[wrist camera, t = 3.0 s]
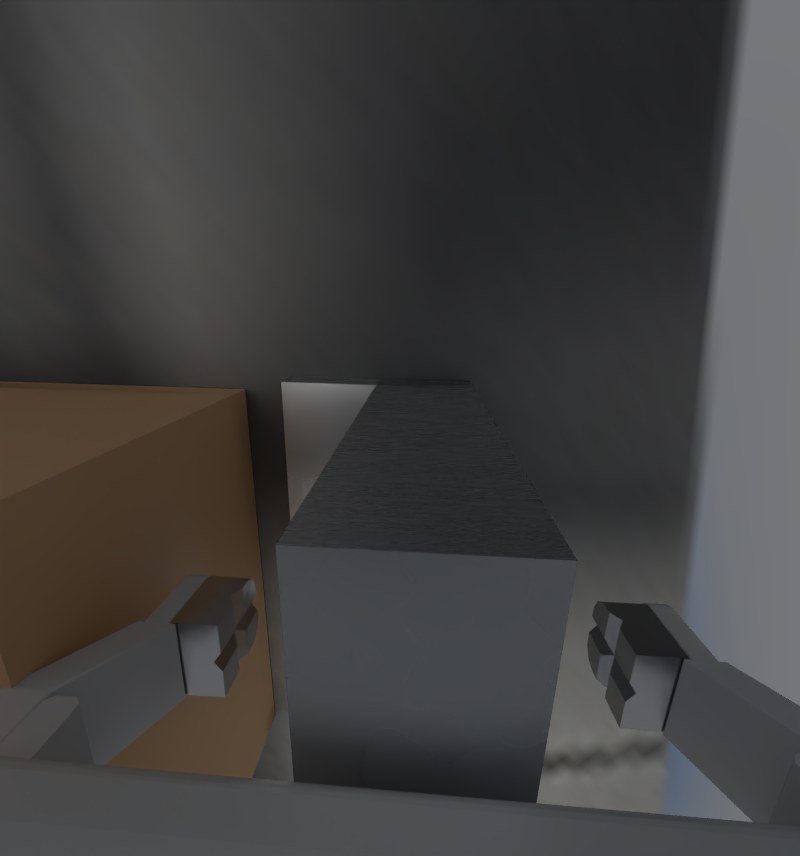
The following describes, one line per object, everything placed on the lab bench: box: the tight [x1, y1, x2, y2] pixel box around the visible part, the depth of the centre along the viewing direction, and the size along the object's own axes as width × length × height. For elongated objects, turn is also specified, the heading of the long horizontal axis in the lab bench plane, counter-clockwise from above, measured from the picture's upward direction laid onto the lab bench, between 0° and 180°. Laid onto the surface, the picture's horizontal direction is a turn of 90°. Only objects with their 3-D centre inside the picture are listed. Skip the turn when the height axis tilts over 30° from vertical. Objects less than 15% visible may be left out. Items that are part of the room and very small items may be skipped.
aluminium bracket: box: [275, 376, 577, 803], centre depth 10 cm, size 8×6×10 cm
